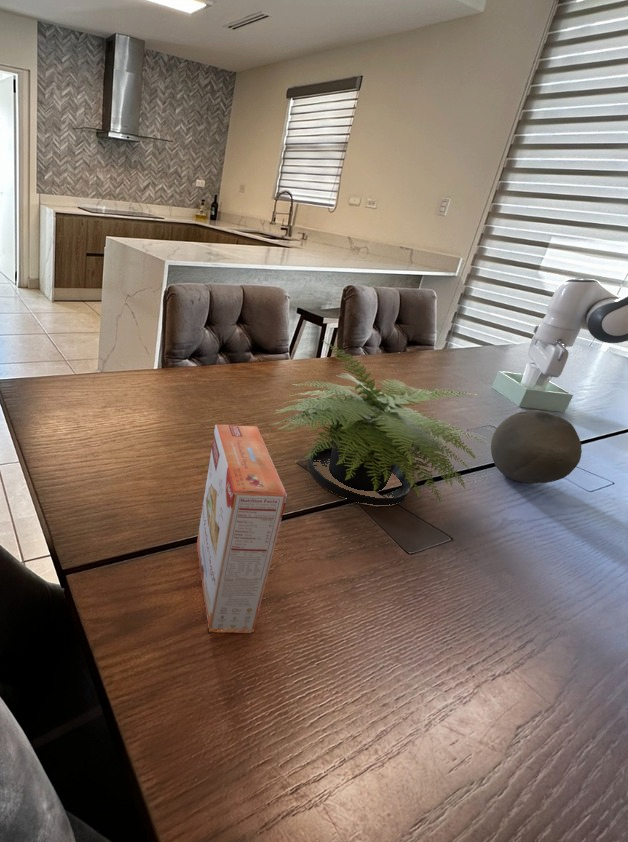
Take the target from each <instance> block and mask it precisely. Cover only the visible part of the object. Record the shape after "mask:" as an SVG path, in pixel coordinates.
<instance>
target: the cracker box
mask: <svg viewBox="0 0 628 842" xmlns="http://www.w3.org/2000/svg"><path fill="white" fill-rule="evenodd" d="M212 439H213V440H212V445H211V451H210V458H209V465H208V470H207V477H206V483H205V489H204V496H203V502H202V509H201V515H200V519H199V520H200V522H199V527H198V533H197V541H196V546H197V547H196V552H198V553H197V559H198V558H199V561H198V566H200V568H199V574H200V573H201V575H200V581H201V580H202V583H201V588H202V587H203V590H202V595H203V594H204V598H203V602H204V601H205V605H204V608H205V607H206V613H207V619H208V624H209V627H210V628H228V629H229V628H231V629H234V628H235V629H250V630H251V629H254V630H255V628H256V624H257V619H258V617H259V611H260V607H261V603H262V600H263V599H262V598H263V594H264V591H265V587H266V583H267V579H268V575H269V571H270V567H271V564H272V559H273V555H274V550H275V547H276V546H275V545H276V543H277V538H278V535H279V531H280V527H281V523H282V519H283V515H284V511H285V507H286V504H287V503H286V502H287V498H288V494H287V492H286V489H285V487H284V485H283V483H282V481H281V478H280V476H279V474H278V471H277V468H276V466H275V465H274V462H273V460H272V458H271V455H270V453H269V451H268V448H267V446H266V443H265V441H264V439H263V436H262V434H261V432H260V430H259V427H258V426H253V425H251V426H250V425H232V424H215V425H214V431H213V437H212ZM206 613H205V614H206Z"/></svg>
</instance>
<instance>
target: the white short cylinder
mask: <svg viewBox="0 0 628 842" xmlns="http://www.w3.org/2000/svg"><path fill="white" fill-rule="evenodd" d="M539 372H540V369H539V368H538V367H537V366H536V364H535V363H533V362H527V363H526V365H525V369H524V372H523V374H524V375H523V378H522V381H521V385H523V386H524V387H526V388H527V389H535V390H543V391H544V389H545V388H546V386H547V384H548V383H549V381H551V380H552V378H553V377H551V376H549V377H548V378H547V379H546V380H545V381H544V383H543V385H542V386H540V385H536V384H535V380H536V378H537V377H538V375H539V374H540V373H539Z"/></svg>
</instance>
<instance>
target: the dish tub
mask: <svg viewBox="0 0 628 842" xmlns="http://www.w3.org/2000/svg"><path fill="white" fill-rule="evenodd" d="M523 375H524V373H519V372H510V371H504V370H503V371H501V370H498V372H497V374H496V377H495V379H494V381H493V384H492V386H491V388H492V389H494V390H495V391H496V392H497V393H499V394H500V395H502V396H503V397H505V398H506V399H507V400H509V401H511V403H512V404H514V405H516V406H517V407H518V408H525V409H526V408H527V409H533V410H542V411H553V412H559V413H560V412H561V413H566V411H567V409H568V407H569V405H570V402H571V401H572V399H573V397H574V394H573V393H571V392H570V391H568V390H566V389H565V388H563V387H561V386H560V385H558V384H556V383H554V382H552V381H551V380H550V381H549V383H548V384H547V386H546V388H545V389H544V391H543V390H535V389H527V388H526V387H524V386H523V385H521V381H522V378H523Z"/></svg>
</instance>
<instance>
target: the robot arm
mask: <svg viewBox="0 0 628 842" xmlns="http://www.w3.org/2000/svg"><path fill="white" fill-rule="evenodd" d="M582 328H587V329H588V332H589V334H590V335H591V336H592V337H593V338H594V339H596V340H597V341H599V342H602V343H606V344H620V343H624V342H628V294H626V295H625V296H623V297H620V296H619V295H617V294H615V293H613V292H612V291H610V290H609V289H607V288H606V287H605V286H603V284H601V283H600V281H599V280H597V279H595V278H588V277H587V278H586V277H571V278H570V277H569V278H567V279H565V280H563V281H561V282H560V283H559V285H558V286H557V288H556V289H555V290H554V292H553V294H552V296H551V299H550V301H549V303H548V304H547V311H546V314H545V316H544V317H543V318H542V319H541V321H540V323H539V324H537V325H535V327H534V328H533V336H532V338H531V341H530V343H529V347H528V350H527V356H528V358H530V360H531V361H532V363H535V364H536V366H537V367H538V368H539V369H540V372H539V373H540V374H539V375H538V377H537V378H536V380H535V384H536V385H540V386H542V385H543V383H544V381H545V380H546V379H547V378H548V377H549V376H551V377H552V378H555V379H556V378H557V379H558V378H559V377H560V376H561V375H562V373H563V371H564V369H565V366H566V364H567V361H568V358H569V354H570V353H569V350H568V349H567V348H570V347H573V346H574V344H575V342H576V339H577V338H578V336H579V333H580V331H581V329H582Z"/></svg>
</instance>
